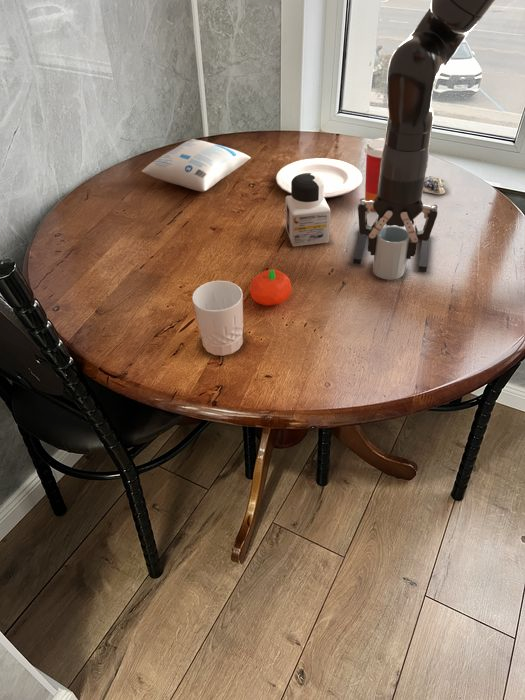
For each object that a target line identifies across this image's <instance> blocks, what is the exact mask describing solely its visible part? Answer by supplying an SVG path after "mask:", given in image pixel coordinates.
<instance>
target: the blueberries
mask: <svg viewBox="0 0 525 700" xmlns="http://www.w3.org/2000/svg"><path fill="white" fill-rule="evenodd" d="M444 187H445V182H444V179H442V178H438V177H433V176H430V175H429V176H425V181H424V186H423V192H424V193H430V194H433V195H438V196H441V195H444V194H445V193H446V190H445V188H444Z"/></svg>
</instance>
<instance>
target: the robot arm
mask: <svg viewBox="0 0 525 700" xmlns="http://www.w3.org/2000/svg"><path fill="white" fill-rule="evenodd" d="M495 1H496V0H431V3H430V7H429V8H428V10H427V11H426V12H425V14H424V15H423V17H422V18H421V20H420V21H419V22H418V24H417V25H416V27H415V29H414V30H413V31H412V33H411V34H410V35H409V37H408V38H407V39H406V40H405V41H403V42H402V43H400V45H399V46H398V47H397V48H396V49H395V50H394V52H393V54H392V55H391V57H390V60H389V64H388V68H387V75H386V97H387V98H386V99H387V102H386V103H387V113H388V115H387V121H386V129H385V137H384V138H385V144H384V148H383V152H382V158H381V167H380V175H379V184H378V193H377V197H376V199H375V200H374V201H366V200H365V198H361V199H359V201H358V206H357V218H358V233H359V235H360V234H362V235H364V234H365V235H367V238H368V241H367V250H366V251H367V253H370V256H374V254H375V245H376V236H377V234H378V232H379V231H381V229H382V228H383V227H385V226H399V227H402V228H405V229H406V230H407V233H408V234H409V236H410V241H409V247H408V253H407V260H411V258H413V257H415V255H416V251H417V247H418V242H421V241H420V240H424V241H427V240H428V239H429V237H430V236H431V234H432V231H433V228H434V225H435V223H436V220H437V217H438V208H439V206H438V205H437V204H432V205H431V206H430V205H425V204H424V203H423V201H422V197H423V192H424V191H423V186H424V181H425V177H426V175H427V168H428V164H429V153H430V152H429V151H430V142H431V136H432V131H433V124H434V111H433V108H432V107H431V105H432V100H433V91H434V87H435V82H436V79H437V78H438V77H439V75H440V74H441V73H442V72H443V70H444V69H445V68H446V67H447V65H448V64H449V62H450V61H451V59H452V58H453V56H454V55H455V54H456V52H457V51H458V49H459V48H460V46H461V45H462V43H463V41H464V40H465V38H466V37H467V36H468V34H469V32H471V31H472V30H473V29H474V27H475V26H477V24H478V23H479V22H480V20H482V18H483V17H484V16H485V14H486V13H487V12H488V10H489V9H490V7H491V6H492V5H493V4H494V2H495ZM371 208H374V210H375V213H376V214H377V217H376V219H375V221H374V222H373V223H372V225H370V224H368V214H370V212H371V210H370V209H371ZM374 210H373V211H374ZM421 213H423V218H424V219H425V222H424V225H423V228H422V229H420V230H419V229H418V227H417V224H416V218H417V217H418V216H419V215H420V214H421ZM430 238H431V237H430Z"/></svg>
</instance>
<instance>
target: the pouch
mask: <svg viewBox="0 0 525 700" xmlns="http://www.w3.org/2000/svg"><path fill="white" fill-rule="evenodd" d="M251 158H252V157H251V156H249V155H248V154H246V153H244V152H242V151H239V150H236V149H234V148H230V147H228V146H224V145H220V144H216V143H212V142H210V141H209V142H208V141H205V140H200V139H194V138H192V139H188V140H186V141H185V142H182V143H180V144H179V145H178V146H176V147H175V148H173V149H171V150H170V151H168V152H165V153H164V154H162V155H161V156H159V157H157V158H156V159H154V160H153V161H152V162H150V163H149V164H148V165H146V166H145V167H144V168H143V169H142V170H141V173H144V174H146V175H148V176H150V177H151V178H154V179H157V180H161V181H164V182H167V183H170V184H172V185H177V186H181V187H184V188H186V189H190V190H192V191H197V192H200V193H204V192H207V191H208V190H209V189H211V188H212V187H214V186H215V185H216V184H217V183H219V182H220V181H221V180H223V179H224V178H225V177H227V176H229V175H231V174H232V173H233V172H234V171H236V170H238V169H239V168H240V167H241V166H243V165H244V164H246V163H247V162H248V161H250V159H251Z"/></svg>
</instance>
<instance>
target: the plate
mask: <svg viewBox="0 0 525 700" xmlns="http://www.w3.org/2000/svg"><path fill="white" fill-rule="evenodd" d="M303 173H313V174H317V175H320V176H321V177H322V178H323V179H324V181H325V184H324V199H332V198H338V197H342V196H345V195H347V194H349V193H352V192H354V191H355V190H356V189H358V188H359V187H360V186H361V184H362V182H363V175H362V173H361V171H360V170H359V169H358V168H357V167H356V166H354V165H352V164H350V163H349V162H345V161H342V160H338V159H333V158H332V159H331V158H323V157H321V158H318V157H317V158H316V157H315V158H306V159H305V158H304V159H300V160H296V161H293V162H291V163H288V164H286V165H285V166H283V167H282V168H280V170H279V171H278V172H277V173H276V176H275V181H276V183H277V186H278V187H279V188H280V189H281V190H283V191H285V192H286V193H288V194H290V195H291V181H292V179H293V178H294V177H295V176H297V175H299V174H303Z"/></svg>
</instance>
